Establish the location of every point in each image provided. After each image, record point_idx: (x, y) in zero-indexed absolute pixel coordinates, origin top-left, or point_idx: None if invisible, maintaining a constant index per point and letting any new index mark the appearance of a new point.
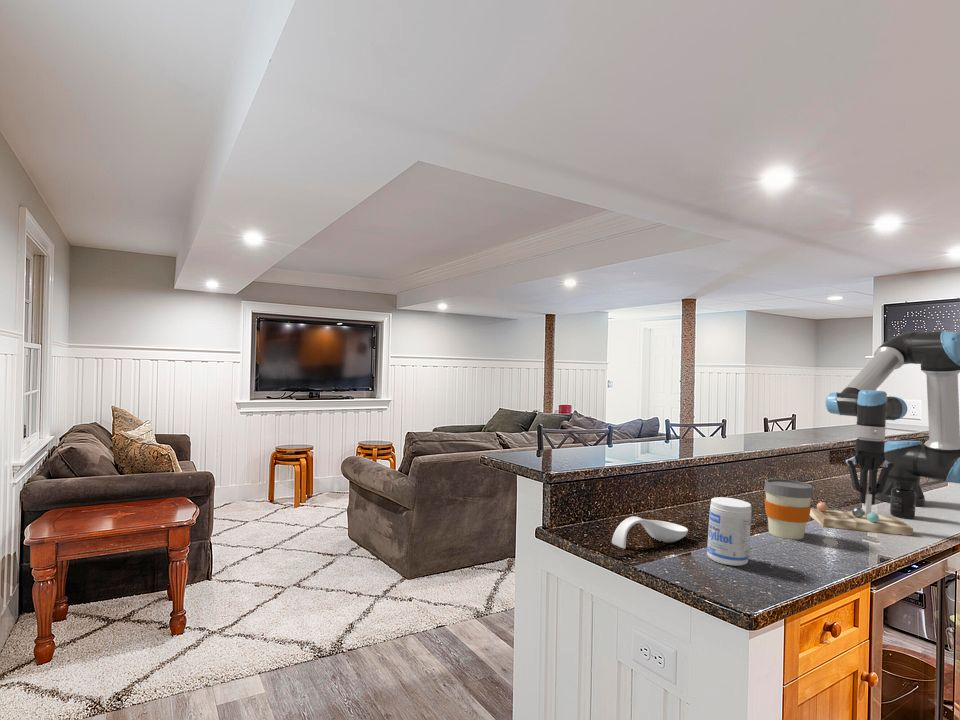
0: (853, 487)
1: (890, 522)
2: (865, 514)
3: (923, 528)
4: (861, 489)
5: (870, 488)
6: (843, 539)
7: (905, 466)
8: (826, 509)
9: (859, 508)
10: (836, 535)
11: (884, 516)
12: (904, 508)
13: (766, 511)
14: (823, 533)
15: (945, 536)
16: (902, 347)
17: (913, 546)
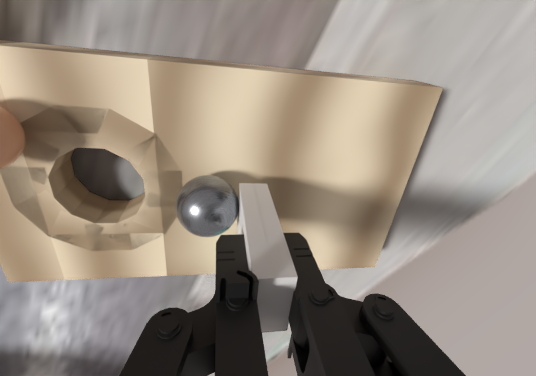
0: (145, 340)
1: (332, 224)
2: (237, 223)
3: (505, 116)
4: (212, 360)
5: (319, 330)
6: (91, 357)
7: None
8: (19, 155)
9: (208, 233)
10: (74, 332)
11: (384, 113)
12: None
13: None
14: (27, 330)
15: (485, 205)
16: None
17: (286, 335)
